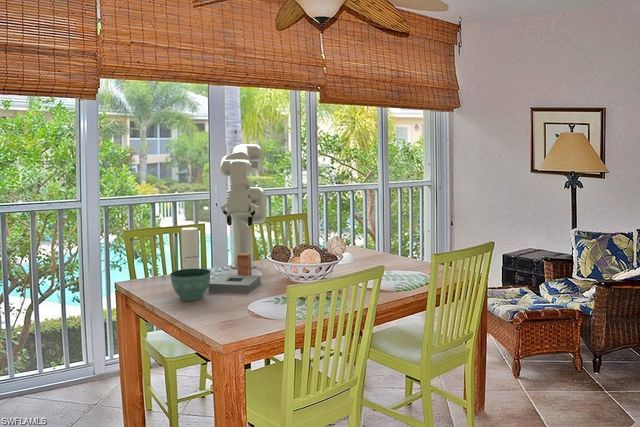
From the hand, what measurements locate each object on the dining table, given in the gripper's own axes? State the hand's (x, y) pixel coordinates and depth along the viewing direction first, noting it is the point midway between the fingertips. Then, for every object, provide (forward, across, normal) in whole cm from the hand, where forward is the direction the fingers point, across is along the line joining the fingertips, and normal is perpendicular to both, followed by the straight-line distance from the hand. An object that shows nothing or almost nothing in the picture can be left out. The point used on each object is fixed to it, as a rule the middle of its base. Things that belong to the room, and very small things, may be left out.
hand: (239, 225), depth 280 cm
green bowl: (+27, +10, +33) cm, 44 cm away
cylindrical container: (+26, +20, +9) cm, 34 cm away
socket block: (+26, -2, +13) cm, 29 cm away
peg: (+25, -1, -1) cm, 25 cm away
